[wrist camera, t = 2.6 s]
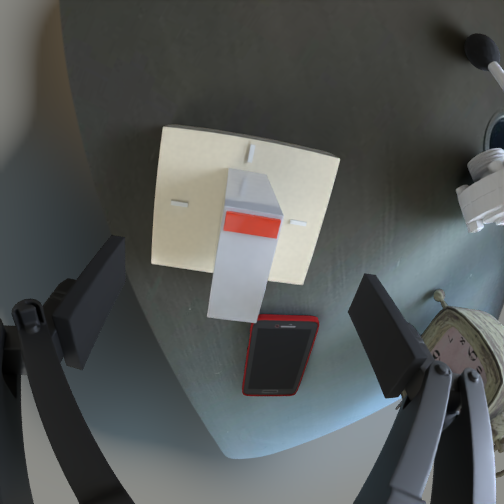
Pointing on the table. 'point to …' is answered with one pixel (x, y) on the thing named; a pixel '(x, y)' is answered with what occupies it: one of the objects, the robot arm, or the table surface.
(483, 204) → the mechanical valve
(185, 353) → the table surface
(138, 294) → the table surface
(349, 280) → the table surface
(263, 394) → the cell phone
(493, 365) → the tabletop clock
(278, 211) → the grey rectangular block
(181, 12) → the table surface
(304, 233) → the cream rectangular base
